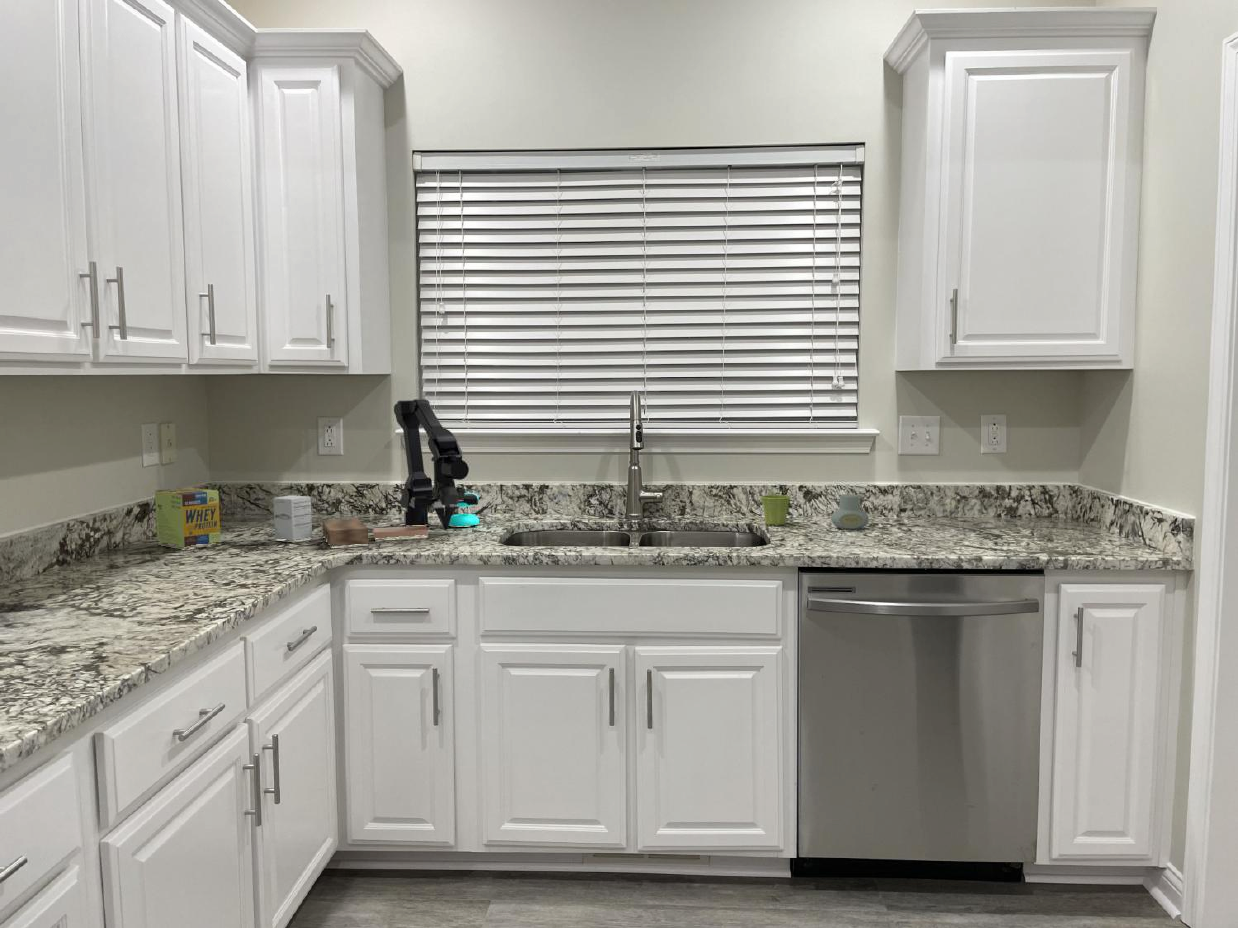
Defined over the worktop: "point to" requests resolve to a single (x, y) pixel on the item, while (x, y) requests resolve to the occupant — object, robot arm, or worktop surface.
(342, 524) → the shelf
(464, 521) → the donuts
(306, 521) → the supplement box
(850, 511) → the air freshener
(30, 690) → the worktop surface
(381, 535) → the tile
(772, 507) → the plant pot
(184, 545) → the protein box
